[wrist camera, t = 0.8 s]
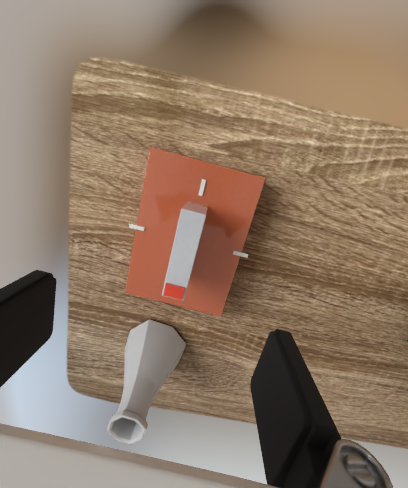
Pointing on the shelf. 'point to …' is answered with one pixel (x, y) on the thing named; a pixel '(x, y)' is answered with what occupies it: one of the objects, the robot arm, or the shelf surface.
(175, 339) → the flask
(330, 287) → the shelf surface
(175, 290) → the tap handle
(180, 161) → the panel
